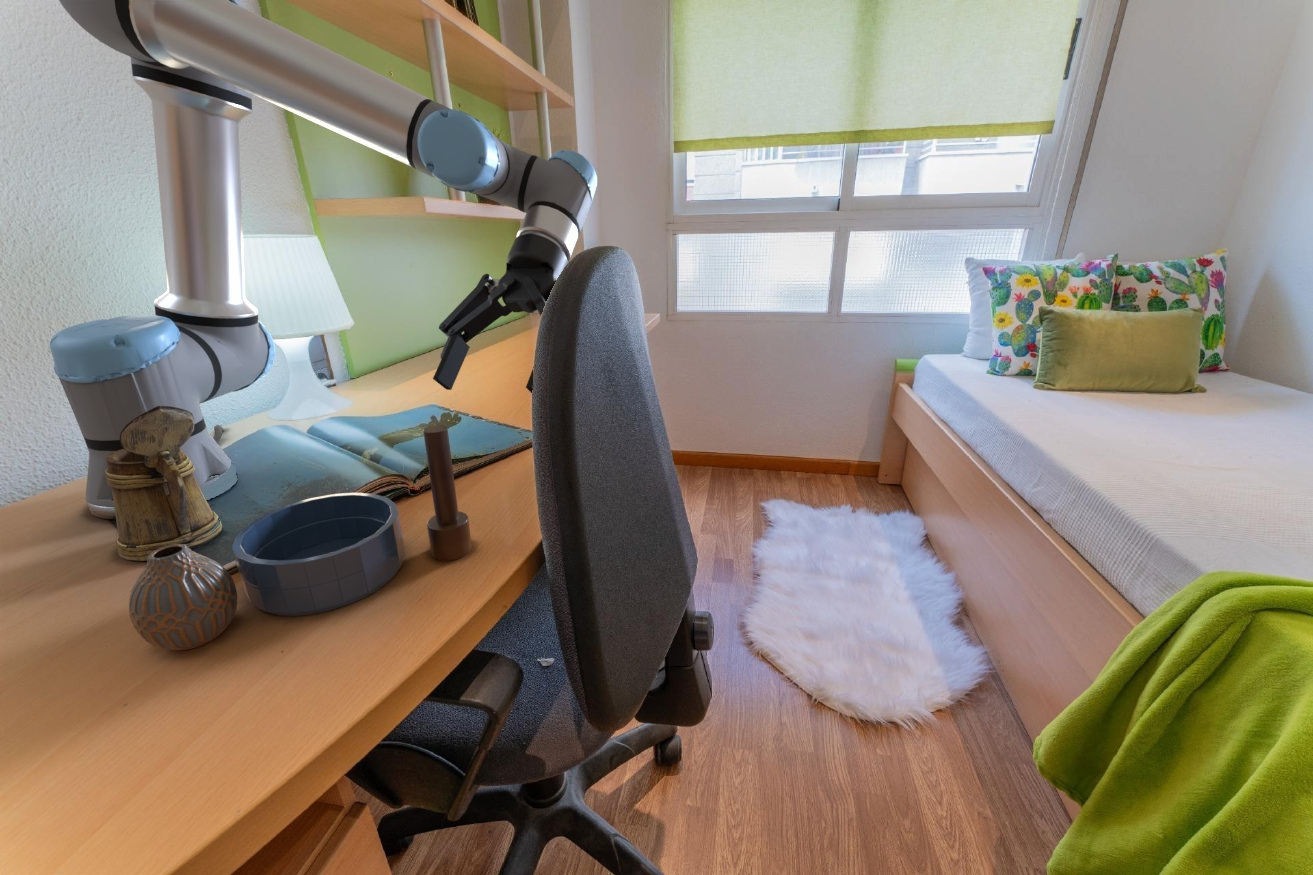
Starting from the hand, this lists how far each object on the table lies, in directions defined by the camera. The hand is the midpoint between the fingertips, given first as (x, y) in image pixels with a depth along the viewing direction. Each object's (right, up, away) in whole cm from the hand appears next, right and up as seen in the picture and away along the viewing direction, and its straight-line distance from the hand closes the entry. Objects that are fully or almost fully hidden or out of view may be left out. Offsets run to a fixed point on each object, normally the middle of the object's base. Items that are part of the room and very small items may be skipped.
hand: (486, 389), depth 62 cm
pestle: (-3, -19, -2) cm, 19 cm away
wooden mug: (-34, -19, -2) cm, 39 cm away
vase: (-21, -24, -16) cm, 35 cm away
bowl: (-14, -20, -7) cm, 26 cm away
